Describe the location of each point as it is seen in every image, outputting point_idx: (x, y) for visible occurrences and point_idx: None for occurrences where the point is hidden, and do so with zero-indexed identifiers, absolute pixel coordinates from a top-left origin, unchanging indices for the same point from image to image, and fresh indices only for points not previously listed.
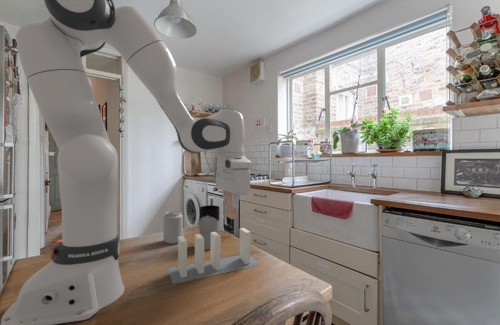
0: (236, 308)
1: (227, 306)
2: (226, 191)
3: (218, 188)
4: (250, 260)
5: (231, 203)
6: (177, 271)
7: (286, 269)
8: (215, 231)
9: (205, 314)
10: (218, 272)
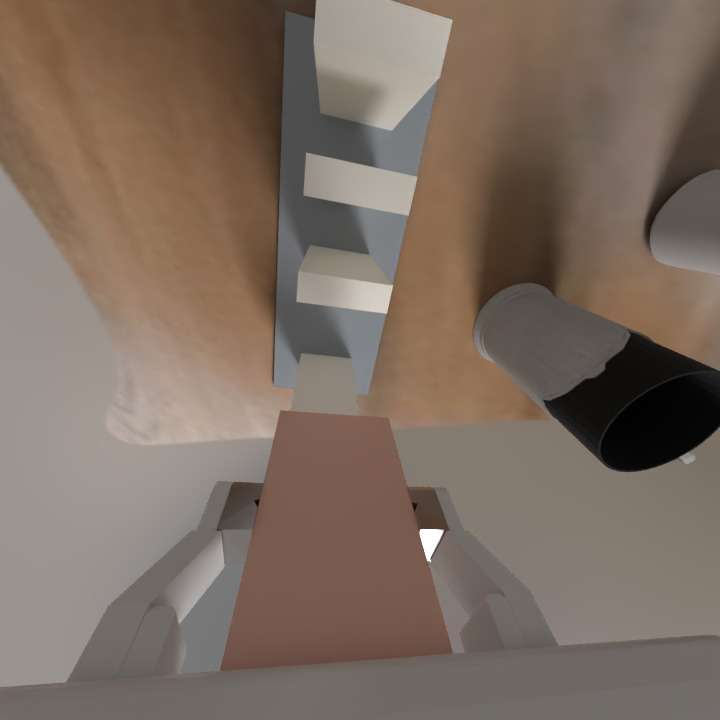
0: (38, 180)
1: (57, 158)
2: (427, 647)
3: (659, 640)
4: None
5: (246, 513)
6: None
7: (223, 423)
8: (513, 363)
9: (16, 49)
10: (289, 246)
